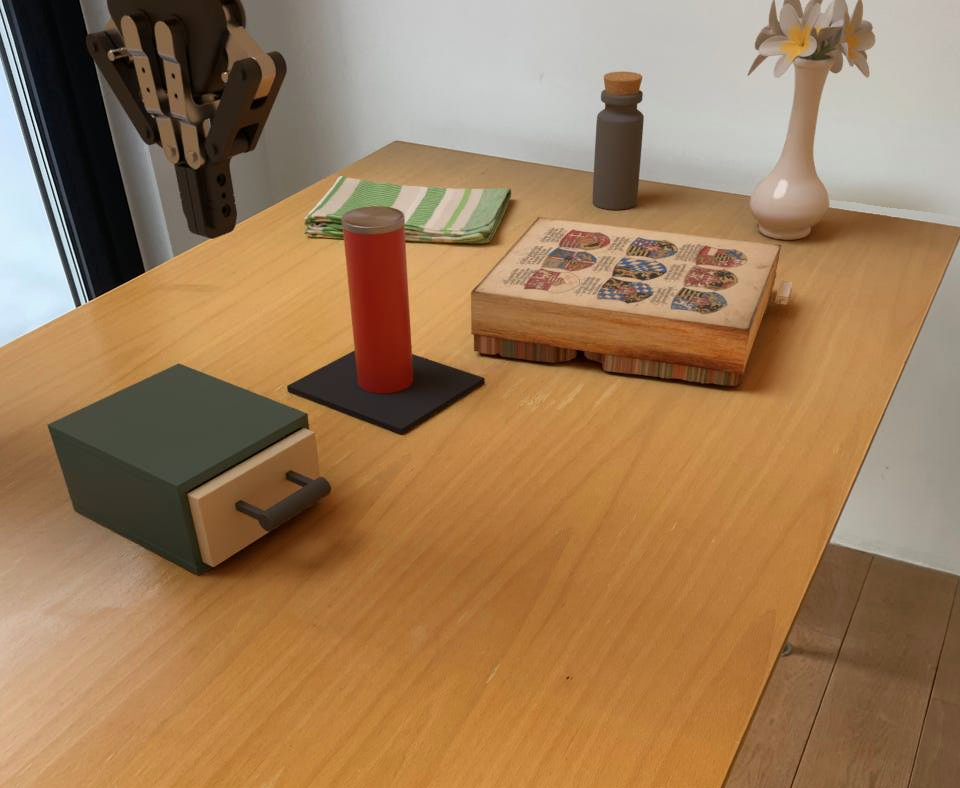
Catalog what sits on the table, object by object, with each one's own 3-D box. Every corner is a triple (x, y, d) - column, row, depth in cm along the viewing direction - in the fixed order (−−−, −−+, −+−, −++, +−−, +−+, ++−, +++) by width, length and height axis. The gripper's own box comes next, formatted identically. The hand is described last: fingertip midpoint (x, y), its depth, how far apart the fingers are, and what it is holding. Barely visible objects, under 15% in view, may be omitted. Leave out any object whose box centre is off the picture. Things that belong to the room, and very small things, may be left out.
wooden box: (791, 297, 113) (543, 265, 120) (803, 237, 109) (545, 208, 116) (759, 399, 95) (471, 355, 103) (771, 333, 91) (470, 292, 98)
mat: (287, 391, 97) (286, 385, 97) (373, 346, 105) (372, 340, 104) (401, 435, 91) (401, 429, 90) (484, 383, 98) (484, 377, 98)
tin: (351, 393, 96) (334, 226, 86) (363, 367, 100) (348, 205, 90) (408, 395, 95) (398, 228, 85) (418, 369, 99) (409, 206, 89)
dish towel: (491, 248, 125) (490, 225, 123) (302, 239, 128) (299, 216, 126) (511, 199, 138) (511, 178, 136) (340, 193, 141) (338, 171, 139)
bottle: (583, 200, 138) (589, 73, 128) (621, 193, 140) (629, 67, 130) (607, 213, 134) (616, 83, 124) (645, 205, 136) (656, 77, 126)
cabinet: (319, 499, 83) (307, 413, 78) (198, 576, 76) (177, 486, 71) (196, 445, 90) (178, 362, 85) (74, 510, 82) (46, 424, 77)
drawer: (360, 514, 80) (353, 447, 76) (251, 587, 73) (237, 518, 69) (207, 446, 88) (194, 383, 84) (95, 507, 81) (75, 441, 77)
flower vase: (833, 208, 134) (879, -20, 118) (837, 260, 120) (889, 10, 104) (730, 202, 136) (761, -23, 120) (722, 252, 123) (756, 7, 106)
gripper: (-15, -157, 48) (84, 228, 59) (177, -149, 42) (246, 280, 53) (118, -167, 52) (186, 193, 63) (309, -160, 46) (347, 237, 57)
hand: (213, 232), depth 58 cm, fingers closed
